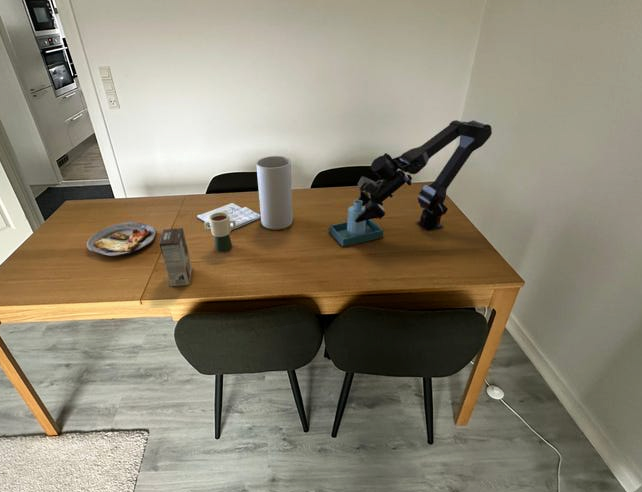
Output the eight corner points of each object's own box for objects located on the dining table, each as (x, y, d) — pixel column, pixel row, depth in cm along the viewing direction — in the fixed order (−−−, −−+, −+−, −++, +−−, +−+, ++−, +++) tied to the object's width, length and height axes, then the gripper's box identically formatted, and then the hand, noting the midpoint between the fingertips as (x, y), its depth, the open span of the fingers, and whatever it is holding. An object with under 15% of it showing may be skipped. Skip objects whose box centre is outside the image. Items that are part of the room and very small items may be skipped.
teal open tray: (366, 223, 145) (367, 217, 144) (382, 237, 137) (383, 230, 135) (329, 232, 142) (329, 225, 140) (342, 246, 133) (343, 239, 131)
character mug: (239, 242, 140) (235, 210, 132) (238, 252, 134) (233, 220, 126) (210, 243, 140) (204, 212, 133) (207, 254, 134) (201, 222, 127)
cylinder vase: (256, 228, 148) (250, 166, 134) (268, 213, 157) (264, 155, 143) (286, 232, 144) (283, 169, 129) (296, 217, 153) (295, 157, 139)
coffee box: (173, 270, 127) (162, 228, 118) (192, 268, 127) (183, 227, 118) (169, 287, 120) (158, 244, 111) (190, 285, 120) (180, 242, 111)
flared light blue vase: (358, 228, 142) (361, 196, 135) (367, 235, 137) (371, 203, 130) (343, 231, 141) (345, 199, 133) (352, 239, 136) (354, 207, 128)
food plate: (168, 233, 149) (166, 225, 146) (127, 265, 132) (124, 256, 130) (121, 223, 158) (118, 215, 156) (76, 251, 141) (73, 243, 139)
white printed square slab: (222, 235, 145) (222, 230, 143) (196, 217, 158) (195, 213, 157) (261, 218, 154) (261, 214, 153) (234, 203, 167) (233, 198, 166)
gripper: (369, 160, 132) (336, 190, 139) (378, 181, 117) (340, 213, 124) (389, 180, 136) (356, 208, 143) (400, 203, 121) (363, 233, 128)
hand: (354, 215), depth 135 cm, fingers open, 9 cm apart
